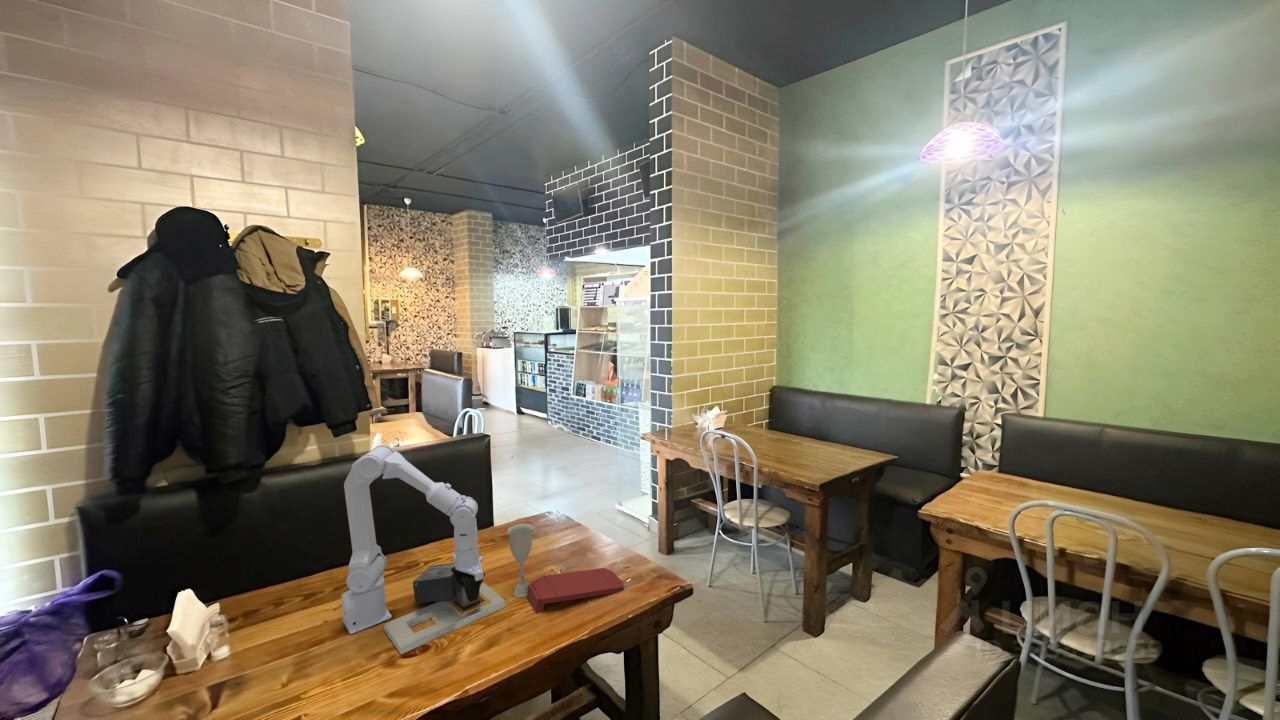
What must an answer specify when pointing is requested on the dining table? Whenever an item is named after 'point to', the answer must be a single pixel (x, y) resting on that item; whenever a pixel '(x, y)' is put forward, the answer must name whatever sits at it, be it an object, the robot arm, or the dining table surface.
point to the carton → (572, 586)
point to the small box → (435, 584)
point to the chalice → (521, 552)
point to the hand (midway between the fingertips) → (469, 596)
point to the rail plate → (440, 620)
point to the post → (464, 596)
